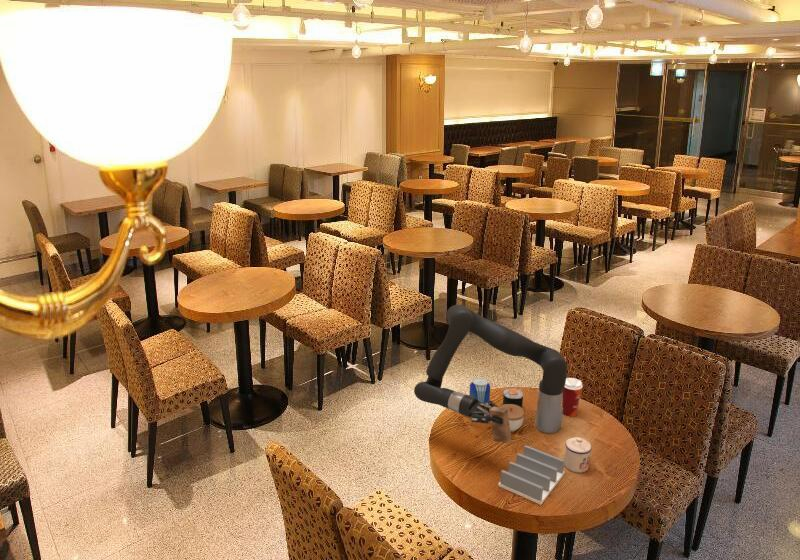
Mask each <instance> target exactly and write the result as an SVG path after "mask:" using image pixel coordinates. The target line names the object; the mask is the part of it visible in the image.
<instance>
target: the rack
mask: <svg viewBox="0 0 800 560" xmlns="http://www.w3.org/2000/svg"><path fill="white" fill-rule="evenodd" d="M564 460H565V459H562V458H559V457H557V456H554V455H552V454H550V453H547V452H544V451H542V450H539V449H537V448H533V447H532V446H529V445H524V446H523V454H522V453H520V452H517V453H516V459H515V462H514V461H512V460H511V461H509V463H508V471H506V470H504V469H502V470H501V471H500V480H499V482H498V487H500V488H502V489H504V490H507V491H509V492H511V493H513V494H514V495H515V494H516V495H518V496H520V497H521V498H525V499H527V500H529V501H532V502H533V503H536V504H538V505H541V506H542V504H544V502H545V501H546V499H547V498H548V496H550V494H551V493H552V491H553V490H555V489H554V488H555V487H556V486H557V485H558V483H559V482H560V481H561V480H562V478H563V477H564V475H566V474H565V473H566V472H565V471H564V467H565V464H564Z"/></svg>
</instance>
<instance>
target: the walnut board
mask: <svg viewBox="0 0 800 560" xmlns="http://www.w3.org/2000/svg"><path fill="white" fill-rule="evenodd" d="M489 413H490V414H492V415H493V416H497V417H499V418H502V419H503V424H498V423H495V422H490V424H491V430H492V435H493V436H492V437H493V441H495V442H500V443H505V444H509V442H511V440H512V434H511V433H512V432H510V425H509V418H508V410H507V409H506V408H500V406H498V407H493V408H491V409H490V410H489Z"/></svg>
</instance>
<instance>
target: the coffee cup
mask: <svg viewBox="0 0 800 560" xmlns="http://www.w3.org/2000/svg"><path fill="white" fill-rule="evenodd" d="M582 389H583V382H582V381H581V380H580V379H577V378H574V377H566V383H565V386H564V388H563V394H562V404H561V407H563V414H562V416H563V415H564V416H565V415H566V416H565V417H567V416H569V417H568V418H574V417H577V415H576V414H578V408H579V404H580V398H581V393H582ZM573 416H574V417H573Z"/></svg>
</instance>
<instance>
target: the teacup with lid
mask: <svg viewBox="0 0 800 560" xmlns="http://www.w3.org/2000/svg"><path fill="white" fill-rule="evenodd" d="M591 451H592V445H591V443H590V442H589V441H588V440H586V439H584V438H582V437H580V436H579V437H571V438H568V439H567V440H566V441H565V452H564V459H563V460H564V467H565V468H567V470H569V471H571V472H574V473H580V474H581V473H584V472H586V471H588V470H589V467H590V457H591Z"/></svg>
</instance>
